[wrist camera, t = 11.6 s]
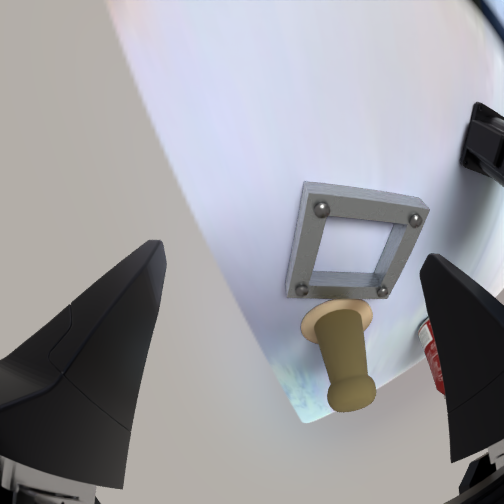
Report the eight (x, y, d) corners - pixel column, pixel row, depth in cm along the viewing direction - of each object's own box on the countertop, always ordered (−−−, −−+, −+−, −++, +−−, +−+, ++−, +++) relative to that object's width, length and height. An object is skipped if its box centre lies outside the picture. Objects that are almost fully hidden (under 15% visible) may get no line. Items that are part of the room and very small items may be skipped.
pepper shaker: (361, 332, 33) (379, 409, 24) (316, 342, 34) (326, 420, 25) (362, 304, 29) (386, 392, 20) (310, 315, 30) (323, 406, 22)
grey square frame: (419, 197, 21) (432, 212, 19) (381, 285, 28) (388, 301, 26) (304, 181, 20) (309, 195, 19) (285, 282, 27) (287, 300, 26)
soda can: (409, 335, 35) (431, 405, 26) (429, 307, 31) (460, 382, 21) (439, 331, 35) (463, 394, 26) (460, 304, 31) (491, 371, 22)
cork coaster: (382, 297, 29) (383, 300, 29) (357, 340, 35) (357, 343, 34) (309, 296, 29) (310, 300, 28) (294, 341, 34) (295, 345, 34)
